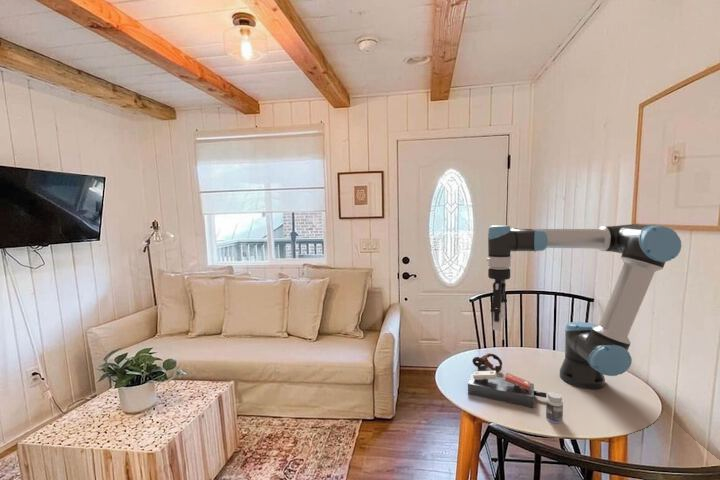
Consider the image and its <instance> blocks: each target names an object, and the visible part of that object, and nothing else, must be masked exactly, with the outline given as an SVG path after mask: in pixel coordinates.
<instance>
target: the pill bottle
mask: <svg viewBox="0 0 720 480" xmlns="http://www.w3.org/2000/svg"><path fill="white" fill-rule="evenodd" d="M545 402H546V403H545V404H546V405H545V406H546V407H545V418H546V420H548V421H549V422H551V423H553V424H562V422H563V416H564V412H563V411H564V403H563V396H562V394H561V393H558V392H556V391H549V392H548V393H547V397H546V401H545Z"/></svg>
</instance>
